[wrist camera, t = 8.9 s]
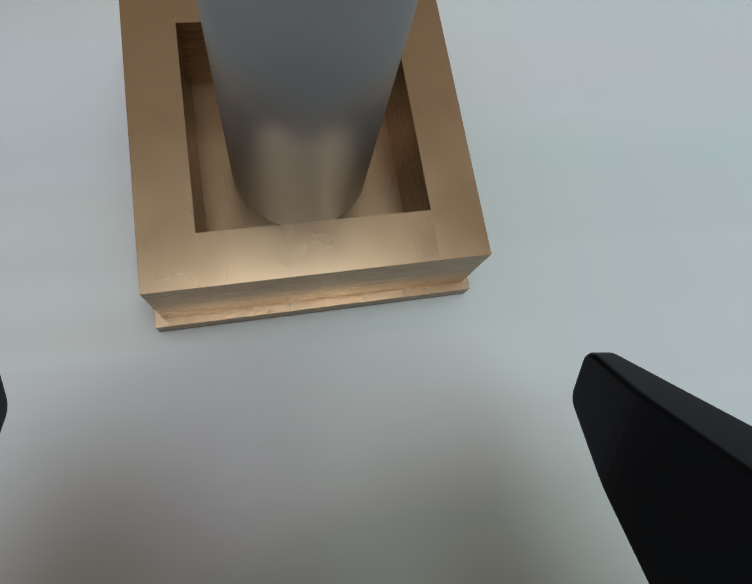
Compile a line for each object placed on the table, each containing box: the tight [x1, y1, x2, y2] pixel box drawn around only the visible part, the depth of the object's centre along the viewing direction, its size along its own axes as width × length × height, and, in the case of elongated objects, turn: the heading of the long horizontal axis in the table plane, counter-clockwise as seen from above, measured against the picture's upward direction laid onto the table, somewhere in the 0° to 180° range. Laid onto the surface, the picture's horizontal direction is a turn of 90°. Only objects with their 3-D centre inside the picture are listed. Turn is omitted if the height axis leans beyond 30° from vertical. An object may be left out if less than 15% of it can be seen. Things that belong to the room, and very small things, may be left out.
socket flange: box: [119, 0, 491, 332], centre depth 18 cm, size 10×10×4 cm
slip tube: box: [197, 0, 418, 225], centre depth 13 cm, size 5×5×14 cm
